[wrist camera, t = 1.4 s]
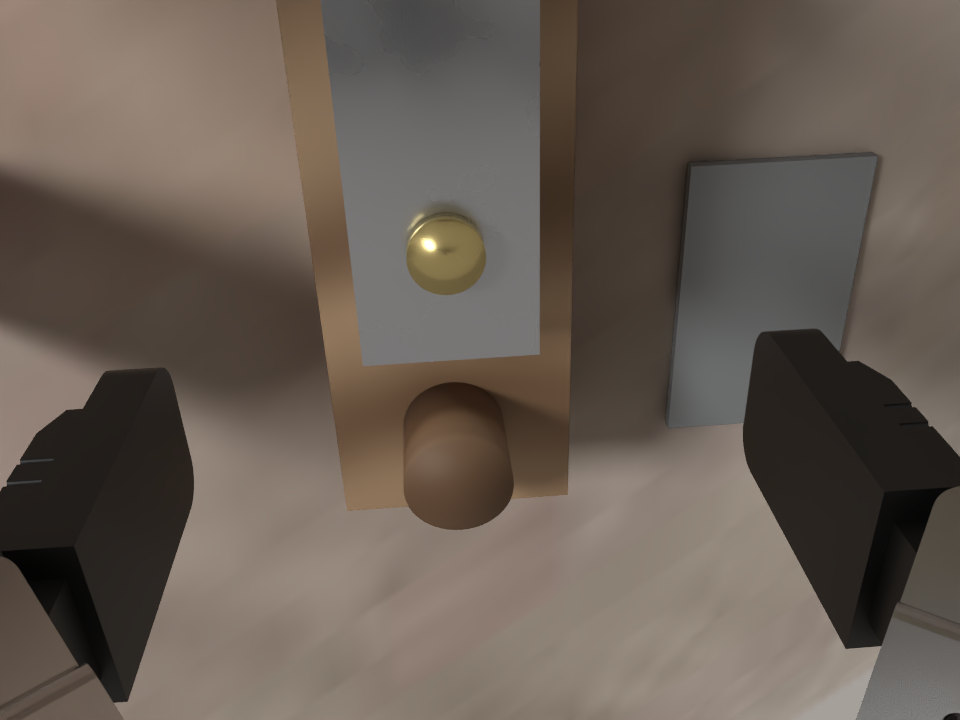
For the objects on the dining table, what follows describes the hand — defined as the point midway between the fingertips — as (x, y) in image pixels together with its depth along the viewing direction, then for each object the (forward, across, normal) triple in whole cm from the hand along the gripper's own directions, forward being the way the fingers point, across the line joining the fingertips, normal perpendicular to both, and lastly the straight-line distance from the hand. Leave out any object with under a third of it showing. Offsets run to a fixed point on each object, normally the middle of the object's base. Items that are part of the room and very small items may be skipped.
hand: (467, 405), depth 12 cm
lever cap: (+12, 0, 0) cm, 12 cm away
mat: (+17, -11, +7) cm, 21 cm away
